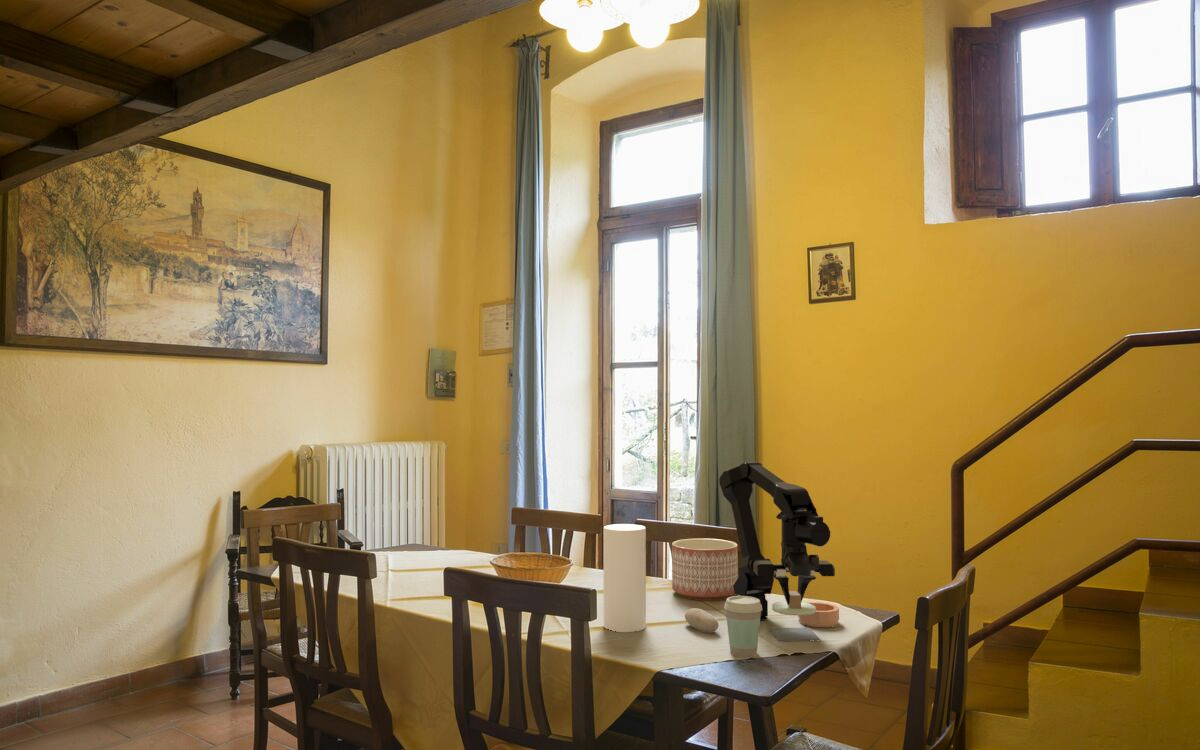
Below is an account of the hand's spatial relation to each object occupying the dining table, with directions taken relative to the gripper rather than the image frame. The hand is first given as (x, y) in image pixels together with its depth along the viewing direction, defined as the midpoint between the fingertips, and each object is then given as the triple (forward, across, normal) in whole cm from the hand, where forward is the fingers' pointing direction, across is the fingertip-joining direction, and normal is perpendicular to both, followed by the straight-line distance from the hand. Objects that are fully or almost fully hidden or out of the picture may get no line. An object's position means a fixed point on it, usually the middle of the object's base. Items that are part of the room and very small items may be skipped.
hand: (793, 603), depth 198 cm
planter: (+8, -16, +42) cm, 46 cm away
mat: (+8, 0, 0) cm, 8 cm away
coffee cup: (+8, -15, -14) cm, 22 cm away
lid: (+1, 0, 0) cm, 1 cm away
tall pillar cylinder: (+8, -41, +8) cm, 42 cm away
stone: (+8, -22, +5) cm, 24 cm away
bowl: (+8, +9, +11) cm, 16 cm away
